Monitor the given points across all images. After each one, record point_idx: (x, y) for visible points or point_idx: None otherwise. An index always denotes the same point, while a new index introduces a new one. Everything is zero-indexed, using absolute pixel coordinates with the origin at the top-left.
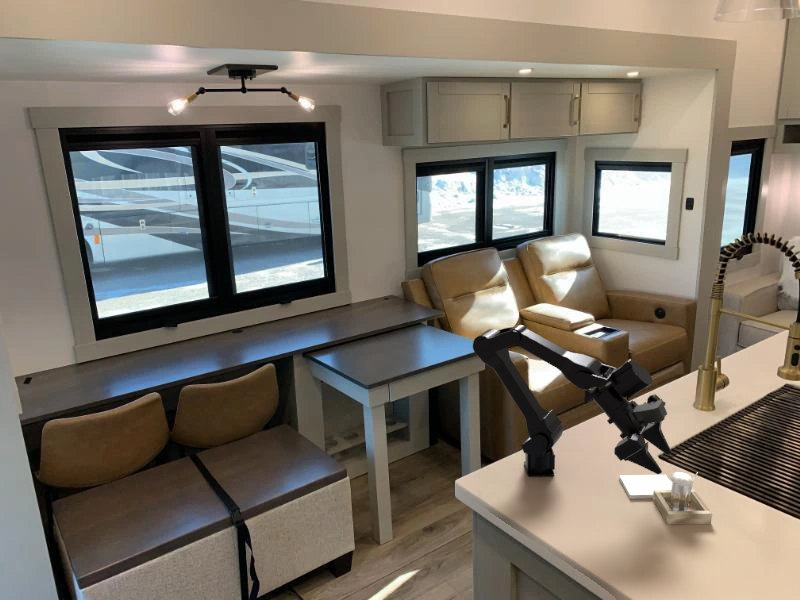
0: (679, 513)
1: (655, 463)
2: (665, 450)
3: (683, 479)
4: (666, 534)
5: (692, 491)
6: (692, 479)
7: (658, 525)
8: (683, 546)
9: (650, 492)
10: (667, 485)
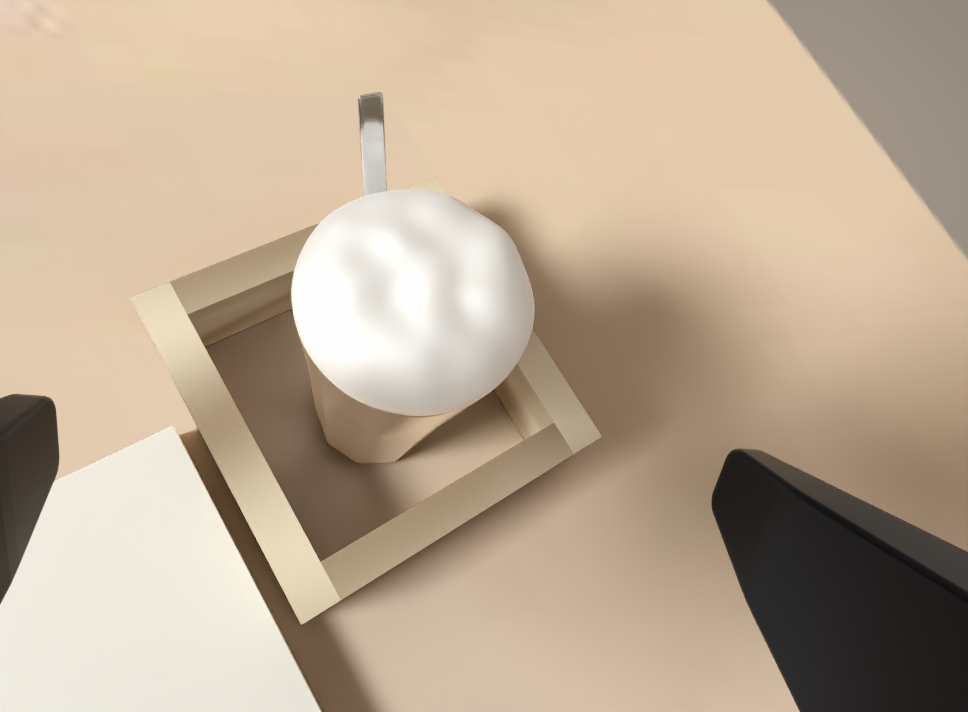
0: (552, 370)
1: (897, 526)
2: (16, 504)
3: (503, 257)
4: (674, 449)
5: (177, 305)
6: (400, 190)
7: (613, 512)
8: (721, 348)
9: (255, 661)
10: (54, 539)
